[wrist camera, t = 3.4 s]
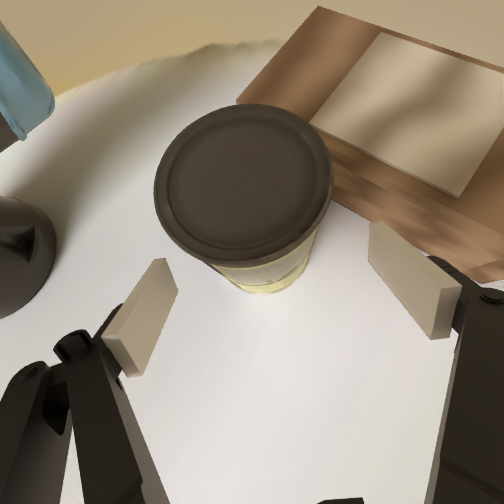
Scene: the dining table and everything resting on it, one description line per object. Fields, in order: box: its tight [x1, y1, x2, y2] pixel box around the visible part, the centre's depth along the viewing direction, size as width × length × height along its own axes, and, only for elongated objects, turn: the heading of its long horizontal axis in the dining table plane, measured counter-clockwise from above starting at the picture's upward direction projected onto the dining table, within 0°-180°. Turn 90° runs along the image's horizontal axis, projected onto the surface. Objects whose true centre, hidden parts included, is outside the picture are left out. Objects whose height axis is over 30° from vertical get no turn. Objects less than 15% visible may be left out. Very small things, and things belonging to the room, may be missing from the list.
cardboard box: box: [236, 6, 504, 284], centre depth 25 cm, size 28×14×8 cm, turn 53°
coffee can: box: [154, 104, 334, 294], centre depth 21 cm, size 10×10×14 cm
